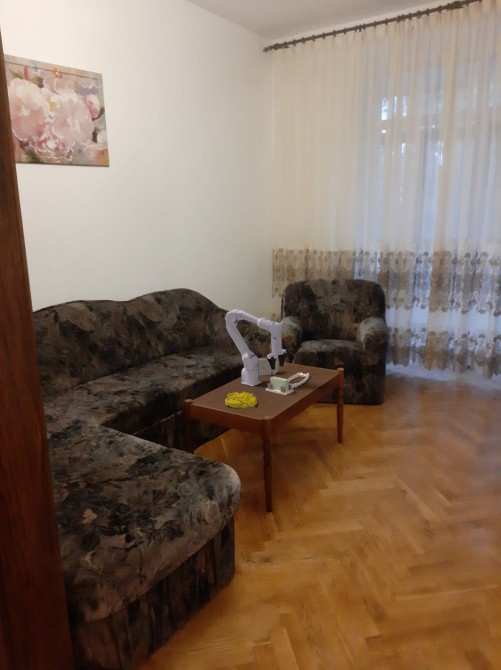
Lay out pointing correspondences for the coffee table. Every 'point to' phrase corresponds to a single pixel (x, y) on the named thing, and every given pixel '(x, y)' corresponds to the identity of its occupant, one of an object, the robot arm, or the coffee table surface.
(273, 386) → the long rectangular block
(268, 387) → the plate with corner feet
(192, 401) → the coffee table surface
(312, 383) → the coffee table surface
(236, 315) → the robot arm
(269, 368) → the hinge
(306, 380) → the door handle
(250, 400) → the yellow textured disc
